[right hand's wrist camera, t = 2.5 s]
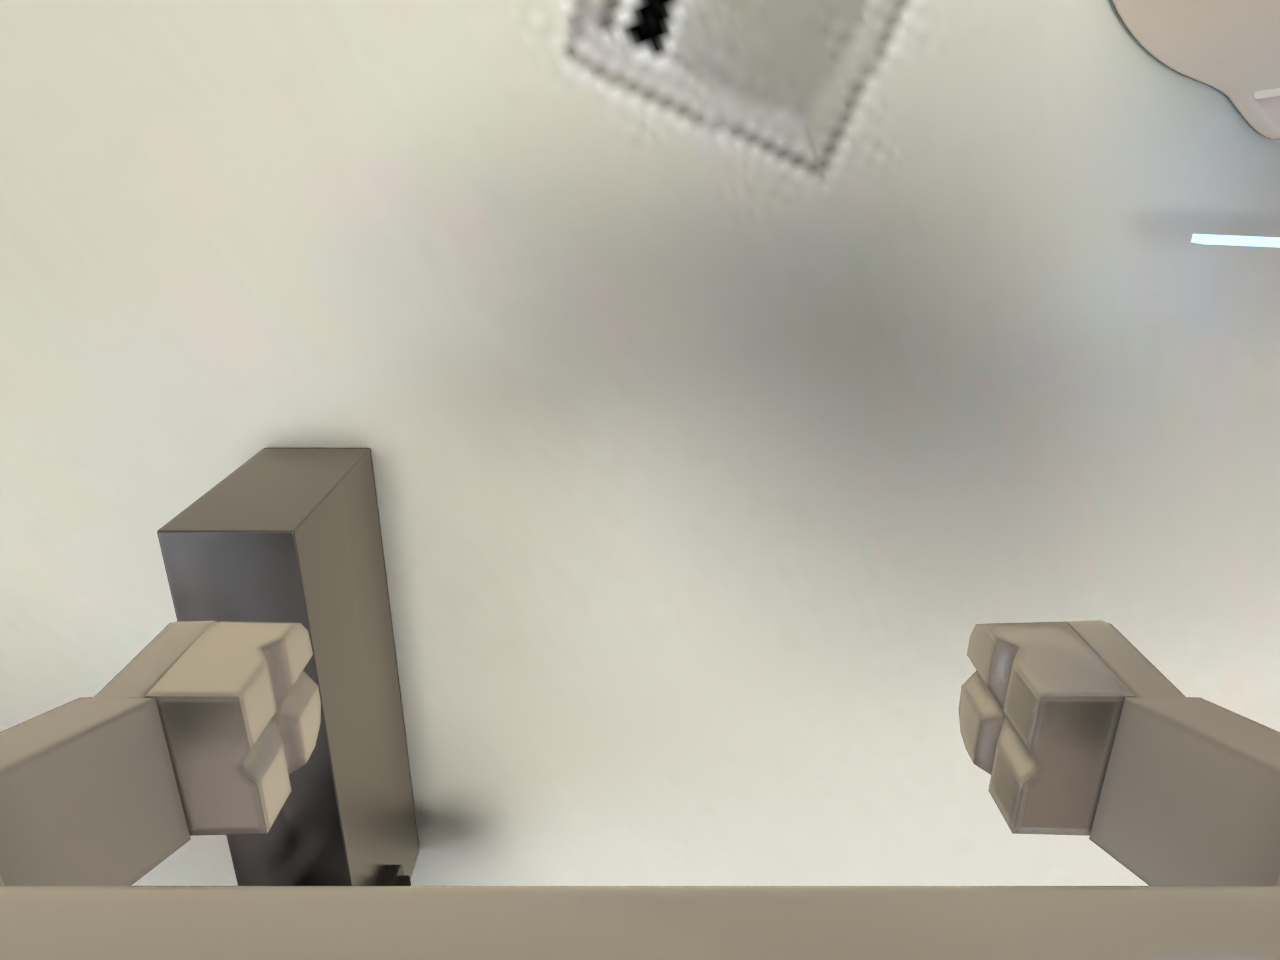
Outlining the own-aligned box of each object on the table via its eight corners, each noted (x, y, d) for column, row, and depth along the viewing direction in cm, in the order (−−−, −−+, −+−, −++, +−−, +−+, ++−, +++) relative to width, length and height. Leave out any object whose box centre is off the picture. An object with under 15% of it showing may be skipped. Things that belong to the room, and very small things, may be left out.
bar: (263, 447, 40) (155, 530, 31) (370, 448, 40) (293, 530, 31) (332, 850, 49) (264, 1004, 40) (419, 850, 49) (371, 1004, 40)
